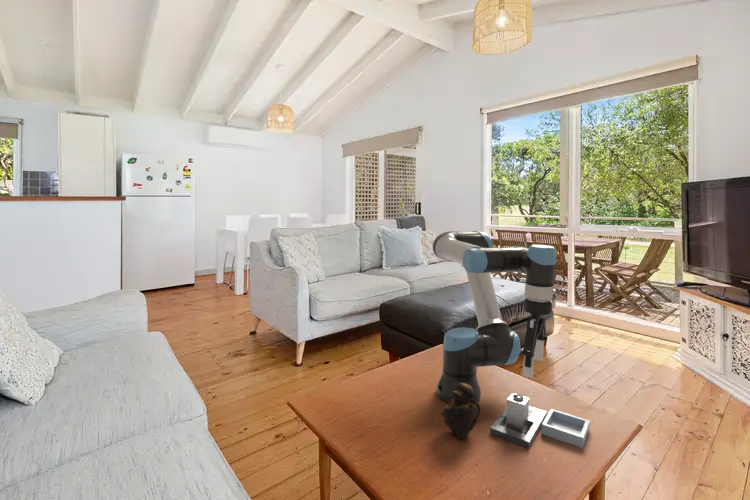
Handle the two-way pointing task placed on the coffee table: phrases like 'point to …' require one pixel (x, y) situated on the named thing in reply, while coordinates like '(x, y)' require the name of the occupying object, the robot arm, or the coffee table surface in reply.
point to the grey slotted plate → (521, 439)
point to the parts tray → (565, 427)
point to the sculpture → (461, 411)
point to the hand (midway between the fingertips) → (532, 368)
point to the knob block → (517, 413)
